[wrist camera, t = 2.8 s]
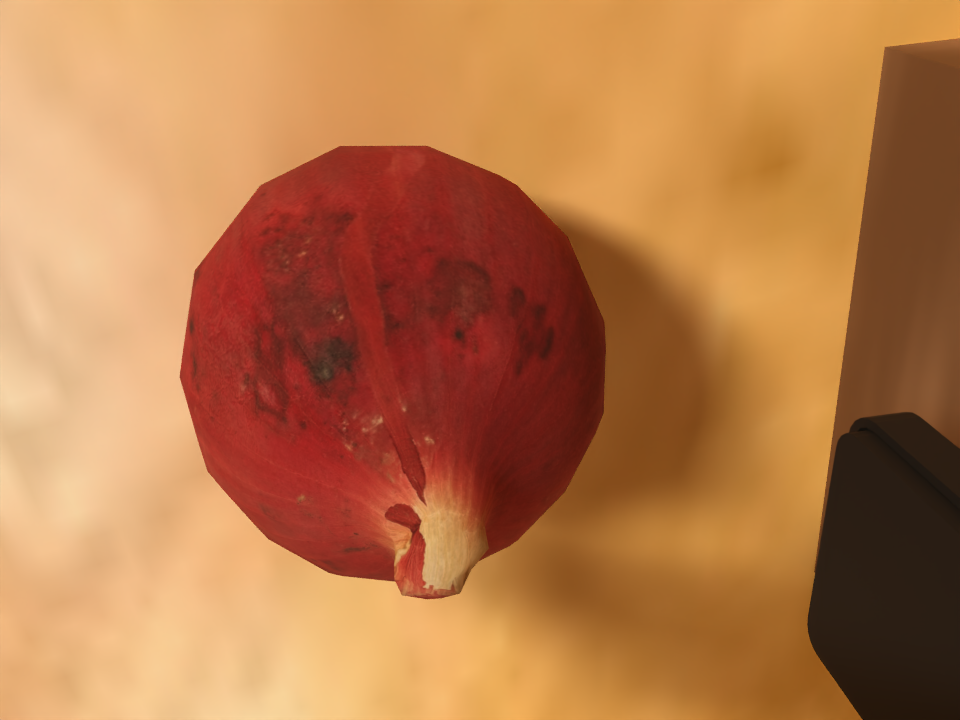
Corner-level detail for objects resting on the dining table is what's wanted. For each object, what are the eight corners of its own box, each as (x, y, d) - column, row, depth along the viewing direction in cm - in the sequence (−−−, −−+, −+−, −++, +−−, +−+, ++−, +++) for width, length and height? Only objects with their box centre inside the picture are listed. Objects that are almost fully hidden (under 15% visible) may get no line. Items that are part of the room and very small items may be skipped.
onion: (134, 197, 15) (-7, 480, 8) (450, 29, 14) (595, 170, 8) (315, 453, 18) (330, 828, 11) (583, 318, 17) (777, 614, 10)
